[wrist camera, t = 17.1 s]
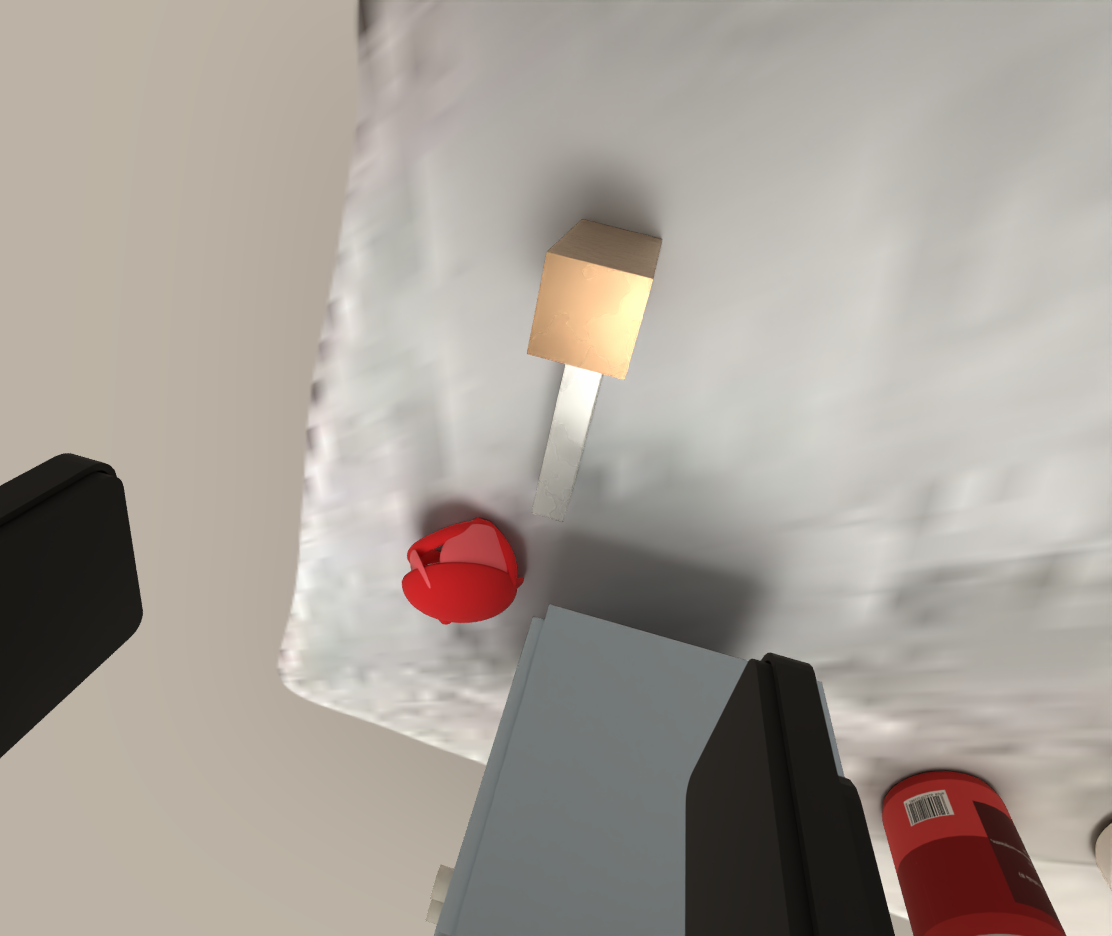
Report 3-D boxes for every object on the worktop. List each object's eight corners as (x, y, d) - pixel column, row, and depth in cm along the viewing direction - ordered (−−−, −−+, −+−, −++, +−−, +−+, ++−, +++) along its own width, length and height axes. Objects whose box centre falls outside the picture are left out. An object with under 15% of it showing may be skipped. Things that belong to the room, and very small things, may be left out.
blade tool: (582, 218, 31) (546, 251, 24) (662, 239, 31) (653, 279, 23) (526, 477, 39) (484, 567, 31) (590, 495, 39) (565, 590, 31)
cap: (371, 565, 40) (407, 657, 39) (407, 531, 36) (449, 633, 35) (475, 532, 45) (510, 611, 44) (517, 499, 41) (557, 586, 40)
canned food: (861, 823, 48) (904, 998, 38) (908, 754, 44) (969, 931, 34) (966, 851, 47) (1037, 1037, 38) (1024, 784, 43) (1119, 973, 34)
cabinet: (553, 506, 39) (385, 986, 18) (809, 577, 39) (967, 1174, 17) (511, 675, 47) (357, 1158, 25) (725, 737, 46) (759, 1295, 24)
